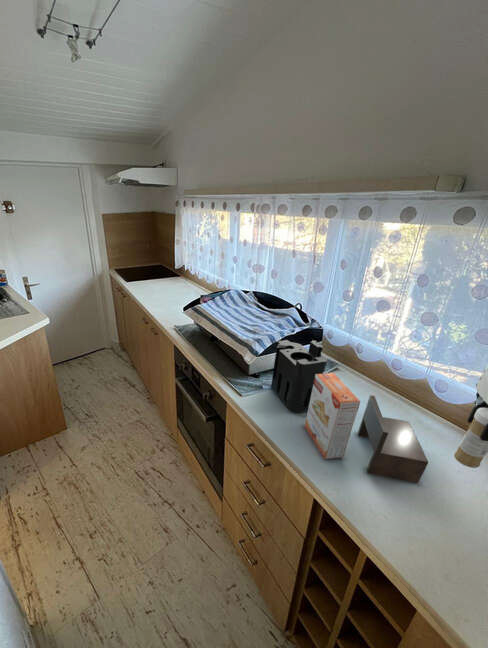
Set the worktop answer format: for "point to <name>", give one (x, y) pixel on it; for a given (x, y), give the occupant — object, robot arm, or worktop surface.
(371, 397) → the spice shelf
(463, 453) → the sprinkles bottle
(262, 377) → the worktop surface
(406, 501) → the worktop surface
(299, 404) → the black machined bracket
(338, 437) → the cracker box
